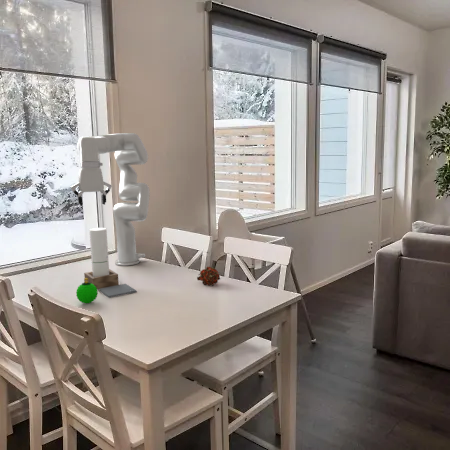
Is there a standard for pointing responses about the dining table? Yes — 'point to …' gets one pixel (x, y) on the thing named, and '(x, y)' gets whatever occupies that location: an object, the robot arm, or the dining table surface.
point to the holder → (103, 279)
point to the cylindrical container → (99, 252)
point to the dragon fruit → (209, 276)
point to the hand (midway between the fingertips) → (92, 204)
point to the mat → (117, 290)
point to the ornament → (86, 292)
